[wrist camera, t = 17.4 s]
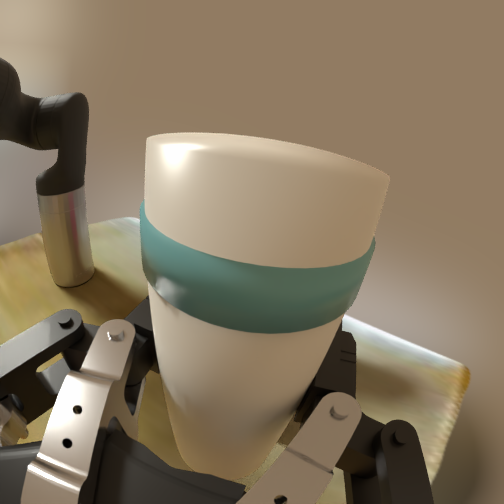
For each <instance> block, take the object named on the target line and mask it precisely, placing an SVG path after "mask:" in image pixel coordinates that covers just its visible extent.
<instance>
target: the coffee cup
mask: <svg viewBox="0 0 504 504" xmlns="http://www.w3.org/2000/svg"><path fill="white" fill-rule="evenodd" d="M389 182H390V176H389V175H388V174H386V173H384V172H382V171H381V170H379V169H377V168H375V167H372V166H370V165H368V164H365V163H362V162H360V161H357V160H354V159H351V158H348V157H345V156H342V155H339V154H335V153H332V152H328V151H324V150H321V149H317V148H312V147H308V146H304V145H299V144H294V143H289V142H284V141H279V140H272V139H266V138H259V137H252V136H243V135H233V134H219V133H168V134H160V135H154V136H151V137H148V138H147V143H146V162H145V199H144V200H143V202H142V203H141V206H140V236H141V255H142V265H143V271H144V273H145V276H146V278H147V280H148V289H149V299H150V309H151V317H152V325H153V333H154V340H155V346H156V353H157V359H158V365H159V370H160V376H161V381H162V386H163V391H164V396H165V400H166V405H167V409H168V414H169V418H170V422H171V426H172V430H173V434H174V437H175V441H176V445H177V448H178V451H179V454H180V456H181V457H182V459H183V460H184V462H185V463H186V464H187V465H188V466H189V467H190V468H191V469H193V470H194V471H195V472H198V473H204V474H211V475H214V476H217V477H220V478H223V479H226V480H235V479H240V478H243V477H245V476H248V475H250V474H251V473H253V472H254V471H256V470H257V469H258V468H259V467H260V466H261V465H262V464H263V462H264V461H265V459H266V458H267V456H268V455H269V453H270V452H271V450H272V449H273V447H274V446H275V444H276V443H277V441H278V439H279V438H280V436H281V435H282V433H283V432H284V430H285V428H286V427H287V425H288V423H289V422H290V420H291V418H292V417H293V415H294V413H295V412H296V410H297V408H298V406H299V405H300V403H301V401H302V399H303V397H304V396H305V394H306V392H307V390H308V388H309V386H310V385H311V383H312V381H313V379H314V377H315V375H316V373H317V371H318V369H319V367H320V365H321V363H322V361H323V359H324V357H325V355H326V353H327V351H328V349H329V347H330V345H331V343H332V341H333V338H334V336H335V334H336V332H337V330H338V327H339V325H340V323H341V321H342V318H343V316H344V314H345V312H346V311H347V310H348V309H349V308H350V307H351V306H352V304H353V302H354V300H355V299H356V296H357V294H358V292H359V289H360V286H361V284H362V282H363V279H364V276H365V274H366V271H367V268H368V266H369V263H370V260H371V258H372V255H373V252H374V249H375V238H374V233H375V230H376V227H377V224H378V221H379V217H380V214H381V210H382V207H383V204H384V200H385V197H386V193H387V189H388V186H389Z"/></svg>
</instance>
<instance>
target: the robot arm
mask: <svg viewBox="0 0 504 504" xmlns="http://www.w3.org/2000/svg"><path fill="white" fill-rule="evenodd" d="M88 121H89V107H88V102H87V99H86V97H85V95H83V94H82V93H77V92H76V93H68V94H62V95H56V96H52V97H46V98H35V97H31V96H29V95H25V94H23V93H22V92H21V87H20V81H19V77H18V74H17V72H16V70H15V69H14V68H13V66H12V65H11V64H10V63H8V62H7V61H5V60H3V59H2V58H0V140H9V141H13V142H16V143H19V144H21V145H24V146H27V147H29V148H32V149H35V150H51V149H58V158H57V162H56V163H55V164H54V165H53V166H52V167H51V168H49V169H47V170H46V171H44V172H42V173H40V174H39V175H38V177H37V178H36V190H37V199H38V207H39V214H40V220H41V226H42V238H43V243H44V248H45V252H46V257H47V261H48V265H49V269H50V273H51V274H52V277H53V280H54V282H55V283H56V284H57V285H59V286H62V287H73V286H77V285H80V284H83V283H85V282H86V281H88V280H89V279H90V278H91V277H92V276H93V274H94V265H93V259H92V252H91V245H90V238H89V230H88V222H87V211H86V200H85V184H84V174H85V165H86V144H87V132H88ZM60 352H61V354H62V356H63V358H62V359H61V360H59V361H57V362H56V363H54V364H53V365H51V366H50V367H48V368H47V369H45V370H44V371H42V372H36V370H37V368H38V367H39V366H40V365H42V364H43V363H45V362H46V361H48V360H50V359H51V358H53V357H54V356H56V355H57V354H59V353H60ZM149 370H152V371H154V372H156V373H158V374H159V373H160V370H159V365H158V359H157V353H156V346H155V340H154V333H153V325H152V317H151V309H150V299H149V295H148V296H147V297H146V299H144V300H143V301H142V302H141V303H140V304H139V305H138V306H137V307H136V308H135V309H134V310H133V311H132V312H131V313H130V314H129V315H128V316H127V317H126V318H125V319H124V320H122V319H114V320H109V321H107V322H105V323H104V324H102V325H101V326H95V325H91V324H86V323H83V321H82V318H81V315H80V314H79V313H78V312H77V311H75V310H72V309H65V310H61V311H59V312H57V313H55V314H53V315H51V316H50V317H48V318H46V319H44V320H43V321H41V322H39V323H37V324H36V325H34V326H32V327H31V328H29V329H27V330H25V331H24V332H22V333H20V334H19V335H17V336H15V337H14V338H12V339H10V340H9V341H7V342H5V343H4V344H2V345H1V346H0V504H315V503H316V502H317V500H318V499H319V498H320V496H321V495H322V493H323V492H324V490H325V489H326V487H327V486H328V484H329V483H330V481H331V479H332V477H333V472H332V471H333V468H334V466H335V467H337V468H339V469H341V470H343V472H344V481H345V491H346V503H347V504H434V502H433V497H432V492H431V487H430V482H429V477H428V473H427V469H426V465H425V461H424V457H423V453H422V449H421V445H420V442H419V438H418V435H417V432H416V430H415V428H414V427H413V426H412V425H411V424H410V423H408V422H406V421H404V420H392V421H390V422H388V423H387V424H386V425H385V424H383V423H380V422H378V421H376V420H374V419H372V418H370V417H368V416H366V415H365V414H364V413H363V412H362V411H361V407H360V405H359V403H358V402H357V401H356V398H355V393H356V342H355V340H354V338H353V336H352V334H351V333H349V332H345V331H342V321H341V323H340V325H339V327H338V330H337V332H336V334H335V336H334V338H333V341H332V343H331V345H330V347H329V349H328V351H327V353H326V355H325V357H324V359H323V361H322V363H321V365H320V367H319V369H318V371H317V373H316V375H315V377H314V379H313V381H312V383H311V385H310V386H309V388H308V390H307V392H306V394H305V396H304V397H303V399H302V401H301V403H300V405H299V406H298V408H297V410H296V414H295V418H294V421H296V422H300V423H301V426H300V430H299V432H298V433H297V435H296V436H295V437H294V439H293V440H292V441H291V442H290V444H289V445H288V446H287V447H286V449H285V450H284V451H283V452H282V453H281V455H280V456H279V457H278V458H277V459H276V461H275V462H274V463H273V464H272V465H271V467H270V468H269V469H268V470H267V471H266V472H265V473H264V475H263V476H262V477H261V478H260V479H259V480H258V481H257V482H256V483H255V484H254V485H253V487H252V488H251V489H250V490H249V491H248V492H245V491H244V489H245V487H246V485H242V484H239V483H235V482H232V481H229V480H226V479H223V478H220V477H217V476H214V475H211V474H204V473H198V472H192V471H186V470H181V469H176V468H173V467H171V466H169V465H168V464H166V463H165V462H164V461H163V460H161V459H160V458H159V457H158V456H156V455H155V454H154V453H153V452H151V451H150V450H149V449H148V448H147V447H146V446H144V445H143V444H141V443H139V442H138V415H139V410H140V405H141V401H142V396H143V391H144V387H145V383H146V377H145V375H146V374H147V373H148V371H149ZM53 406H54V408H53V411H52V414H51V416H50V419H49V422H48V425H47V428H46V431H45V434H44V437H43V440H42V441H37V442H31V443H24V444H17V442H18V440H19V438H21V439H26V438H27V437H28V434H29V433H28V430H27V428H26V426H27V425H28V424H29V423H30V422H32V421H33V420H35V419H36V418H38V417H39V416H40V415H42V414H43V413H45V412H46V411H47V410H49V409H50V408H52V407H53Z"/></svg>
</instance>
